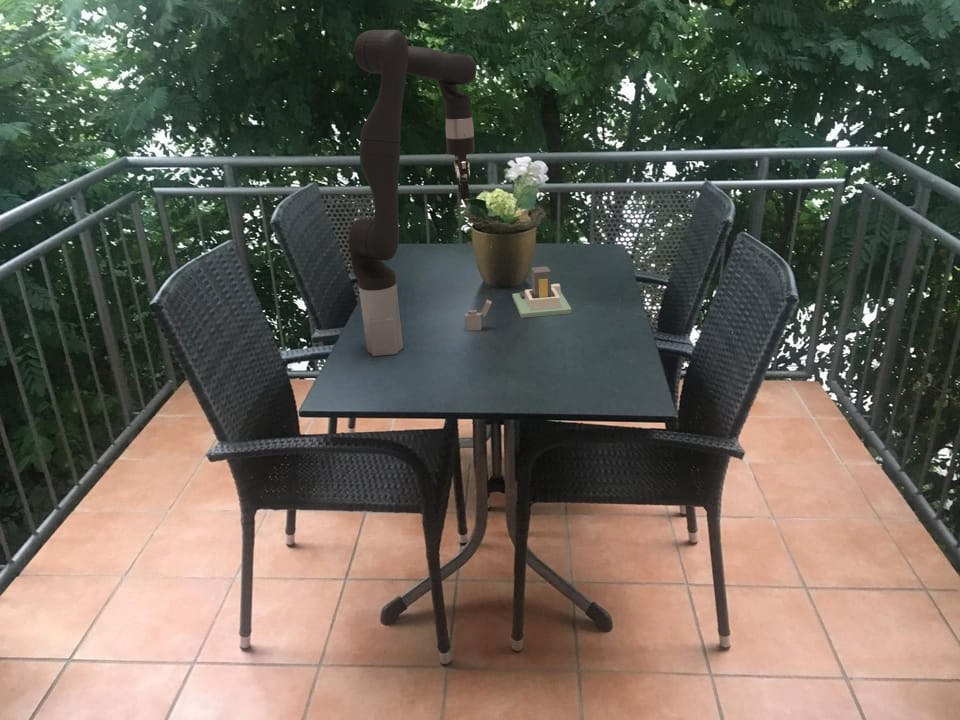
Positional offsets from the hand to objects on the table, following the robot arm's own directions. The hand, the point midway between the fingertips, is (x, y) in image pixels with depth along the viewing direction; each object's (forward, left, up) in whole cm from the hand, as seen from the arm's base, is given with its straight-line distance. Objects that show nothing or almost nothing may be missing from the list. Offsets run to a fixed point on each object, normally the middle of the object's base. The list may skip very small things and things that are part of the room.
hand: (463, 195), depth 214 cm
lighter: (-25, 0, -30) cm, 39 cm away
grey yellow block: (-14, -19, -29) cm, 37 cm away
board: (-12, -19, -30) cm, 38 cm away
